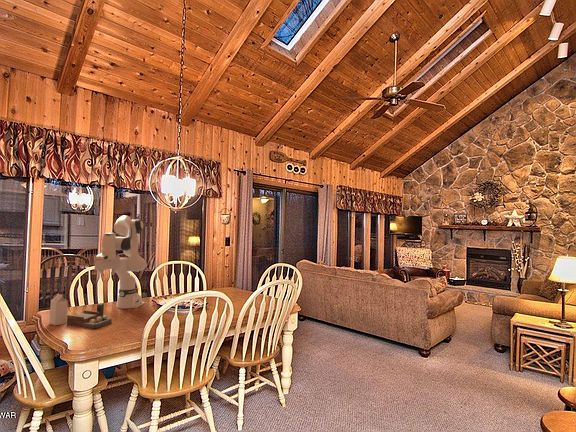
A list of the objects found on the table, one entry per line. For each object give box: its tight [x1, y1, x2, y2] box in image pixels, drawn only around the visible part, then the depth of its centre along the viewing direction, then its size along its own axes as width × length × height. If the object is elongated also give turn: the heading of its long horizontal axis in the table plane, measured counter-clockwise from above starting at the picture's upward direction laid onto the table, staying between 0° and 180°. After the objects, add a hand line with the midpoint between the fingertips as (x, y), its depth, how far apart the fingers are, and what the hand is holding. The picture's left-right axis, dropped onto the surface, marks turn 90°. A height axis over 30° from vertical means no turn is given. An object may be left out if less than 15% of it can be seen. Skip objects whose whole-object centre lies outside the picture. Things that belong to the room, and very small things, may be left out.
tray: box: [81, 317, 112, 330], centre depth 225 cm, size 14×10×3 cm
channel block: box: [66, 309, 99, 328], centre depth 228 cm, size 14×12×6 cm
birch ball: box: [96, 316, 102, 323], centre depth 228 cm, size 4×4×4 cm
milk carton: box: [49, 293, 69, 326], centre depth 226 cm, size 7×7×19 cm
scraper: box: [96, 303, 108, 318], centre depth 240 cm, size 10×3×10 cm, turn 76°
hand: (107, 275), depth 240 cm, fingers open, 8 cm apart
